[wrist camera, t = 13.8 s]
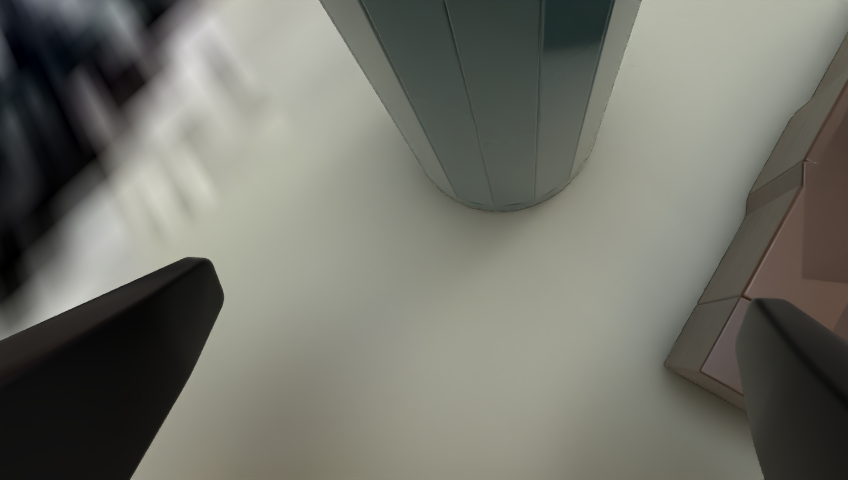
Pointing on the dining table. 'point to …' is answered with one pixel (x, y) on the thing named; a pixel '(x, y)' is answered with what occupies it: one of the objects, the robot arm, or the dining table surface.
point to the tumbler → (491, 86)
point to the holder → (781, 241)
